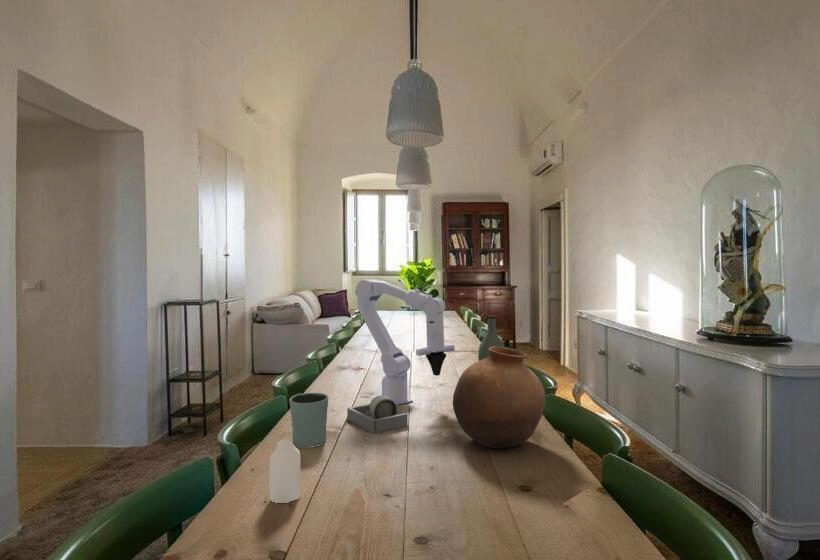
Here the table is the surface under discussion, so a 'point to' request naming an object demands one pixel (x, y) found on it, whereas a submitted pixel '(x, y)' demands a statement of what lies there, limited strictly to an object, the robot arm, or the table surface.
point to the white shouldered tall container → (285, 473)
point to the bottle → (489, 339)
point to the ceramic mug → (382, 407)
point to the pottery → (499, 399)
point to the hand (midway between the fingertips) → (436, 375)
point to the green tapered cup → (309, 418)
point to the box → (375, 425)
